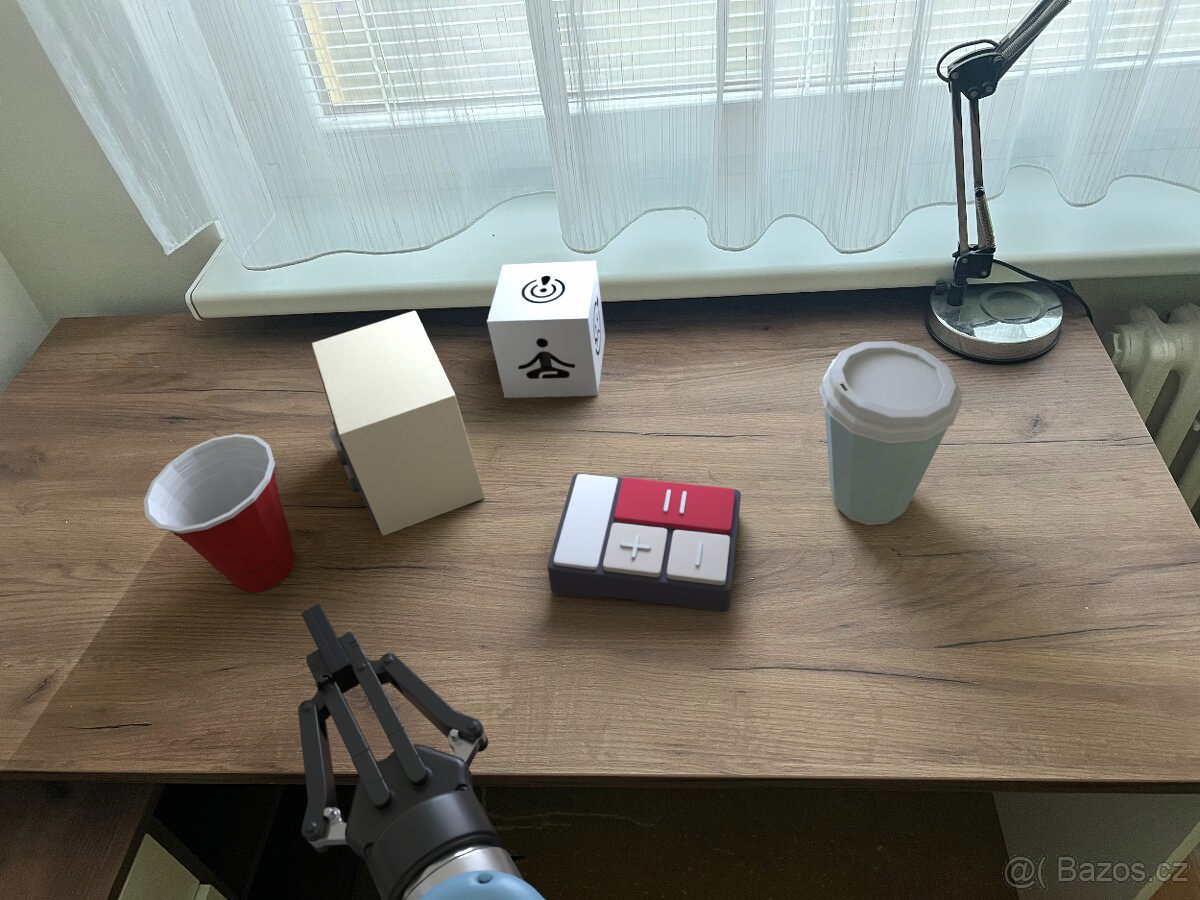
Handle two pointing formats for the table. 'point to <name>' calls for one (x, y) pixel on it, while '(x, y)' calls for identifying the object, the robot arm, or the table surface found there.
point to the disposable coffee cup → (884, 425)
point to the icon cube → (548, 329)
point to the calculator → (646, 542)
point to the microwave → (397, 423)
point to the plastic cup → (226, 509)
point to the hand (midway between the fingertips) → (315, 618)
